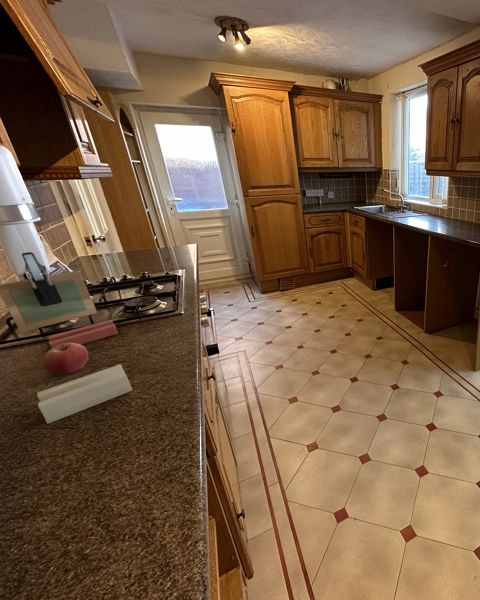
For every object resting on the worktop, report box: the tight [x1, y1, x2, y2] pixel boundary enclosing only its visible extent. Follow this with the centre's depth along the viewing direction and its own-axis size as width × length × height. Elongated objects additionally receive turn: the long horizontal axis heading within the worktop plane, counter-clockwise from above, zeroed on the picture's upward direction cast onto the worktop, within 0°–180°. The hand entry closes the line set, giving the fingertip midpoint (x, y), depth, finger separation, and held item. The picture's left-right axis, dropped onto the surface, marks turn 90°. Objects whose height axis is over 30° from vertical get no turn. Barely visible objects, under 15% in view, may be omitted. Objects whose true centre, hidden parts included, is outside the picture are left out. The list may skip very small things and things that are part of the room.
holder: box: [36, 364, 133, 425], centre depth 72 cm, size 8×14×4 cm, turn 138°
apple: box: [42, 343, 89, 375], centre depth 81 cm, size 8×8×8 cm
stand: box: [47, 319, 119, 349], centre depth 94 cm, size 8×14×4 cm, turn 138°
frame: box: [0, 269, 98, 333], centre depth 68 cm, size 2×12×10 cm, turn 139°
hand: (51, 302), depth 69 cm, fingers closed on frame, 1 cm apart
